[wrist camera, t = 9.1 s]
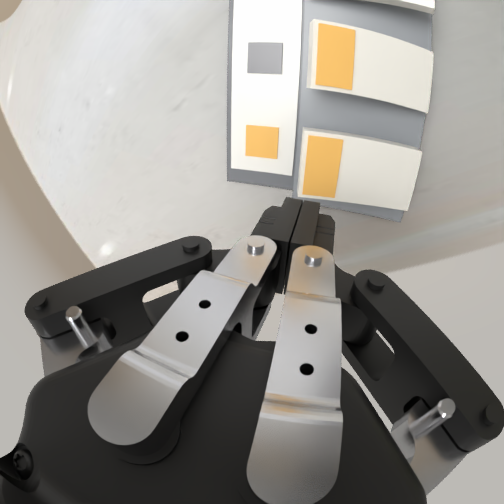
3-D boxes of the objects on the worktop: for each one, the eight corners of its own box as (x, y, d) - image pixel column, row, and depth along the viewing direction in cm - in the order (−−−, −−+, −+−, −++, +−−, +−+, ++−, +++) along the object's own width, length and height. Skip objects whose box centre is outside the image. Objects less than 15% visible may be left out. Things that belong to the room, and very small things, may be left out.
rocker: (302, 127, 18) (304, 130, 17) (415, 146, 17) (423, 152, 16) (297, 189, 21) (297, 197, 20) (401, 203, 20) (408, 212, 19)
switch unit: (235, -44, 13) (221, -57, 11) (417, -27, 10) (426, -39, 7) (230, 177, 28) (217, 190, 25) (394, 206, 24) (400, 222, 22)
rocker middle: (309, 22, 13) (314, 18, 12) (424, 52, 13) (434, 52, 12) (306, 87, 16) (310, 88, 15) (418, 110, 16) (429, 113, 15)
